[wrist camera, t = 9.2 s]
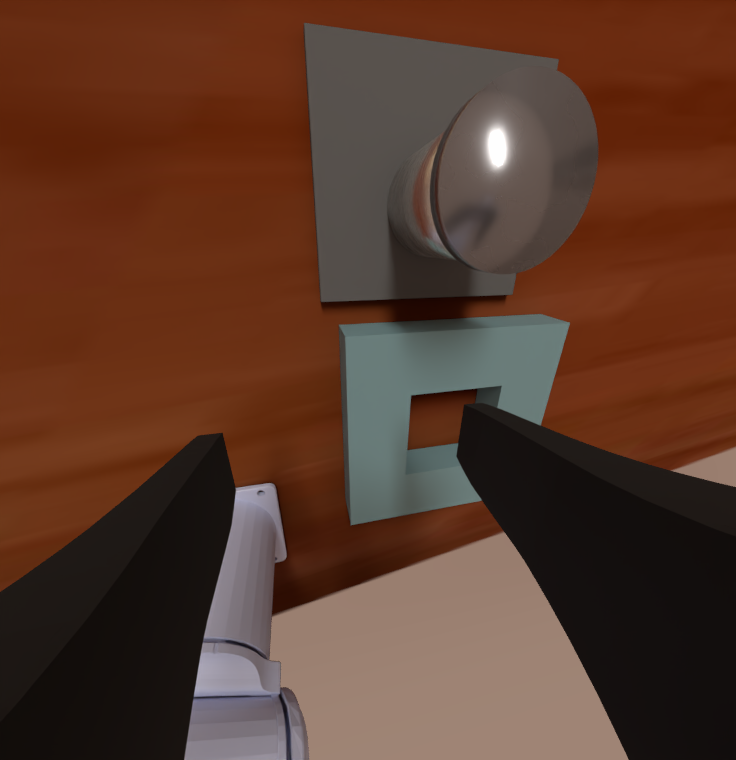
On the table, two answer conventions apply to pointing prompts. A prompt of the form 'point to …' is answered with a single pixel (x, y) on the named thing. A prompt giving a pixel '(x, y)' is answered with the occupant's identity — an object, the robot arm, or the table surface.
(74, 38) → the table surface
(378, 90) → the rubber mat
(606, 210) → the table surface
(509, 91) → the door knob
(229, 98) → the table surface
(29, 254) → the table surface
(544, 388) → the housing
